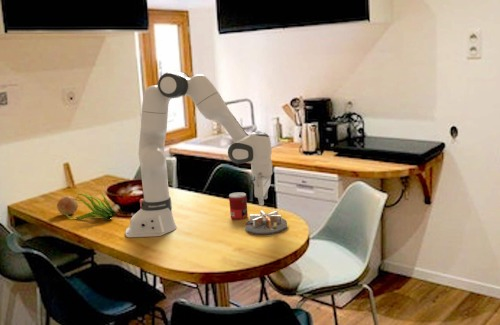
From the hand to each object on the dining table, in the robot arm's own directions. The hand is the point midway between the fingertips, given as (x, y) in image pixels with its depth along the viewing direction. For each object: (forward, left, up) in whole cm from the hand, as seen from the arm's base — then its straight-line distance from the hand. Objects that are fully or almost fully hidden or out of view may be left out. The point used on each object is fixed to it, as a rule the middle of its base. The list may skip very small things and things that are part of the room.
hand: (263, 201), depth 224 cm
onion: (-94, +51, -12) cm, 108 cm away
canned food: (-10, +18, -12) cm, 24 cm away
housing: (+1, 0, -12) cm, 12 cm away
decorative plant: (-83, +41, -12) cm, 94 cm away
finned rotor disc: (+1, 0, -10) cm, 10 cm away
